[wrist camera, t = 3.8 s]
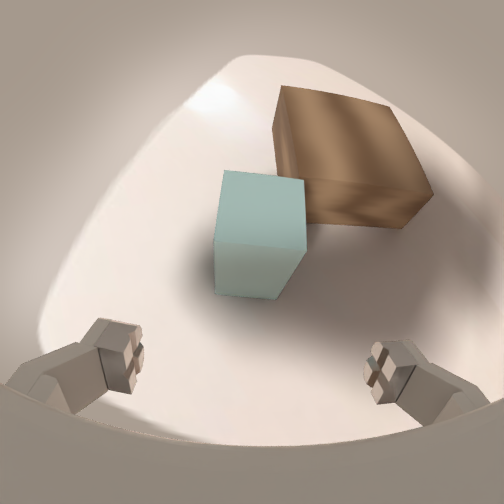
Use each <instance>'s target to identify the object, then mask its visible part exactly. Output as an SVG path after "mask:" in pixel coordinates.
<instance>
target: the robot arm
mask: <svg viewBox="0 0 504 504" xmlns="http://www.w3.org/2000/svg"><path fill="white" fill-rule="evenodd" d="M141 338H142V329H141V326H140V325H136V324H131V323H126V322H121V321H116V320H111V319H105V318H98V319H97V320H96V321H95V323H94V324H93V325H92V327H91V328H90V329H89V331H88V332H87V333H86V335H85V336H84V337H83V339H82V340H81V341H80V343H77V342H75V343H72V344H70V345H67V346H65V347H62V348H60V349H58V350H55V351H53V352H50V353H48V354H45V355H43V356H40V357H38V358H35V359H33V360H30V361H28V362H25V363H23V364H21V365H20V367H19V368H18V369H17V370H16V372H15V373H14V374H13V375H12V377H11V378H10V379H9V381H8V382H7V383H6V384H5V385H4V384H2V383H0V504H504V398H502V399H499V400H497V401H495V402H493V403H490V402H489V401H488V399H487V398H486V397H485V395H484V394H483V393H482V392H481V390H480V389H479V388H478V387H477V386H476V385H474V384H472V383H470V382H468V381H466V380H464V379H462V378H460V377H458V376H456V375H454V374H452V373H450V372H449V371H447V370H445V369H443V368H441V367H439V366H437V365H435V364H433V363H429V362H428V361H427V359H426V358H425V357H424V356H423V354H422V353H421V352H420V351H419V349H418V348H417V347H416V346H415V344H414V343H413V342H412V341H411V340H398V341H385V342H375V343H374V345H373V346H372V349H371V354H372V356H371V357H370V358H369V359H368V360H367V361H366V363H365V366H364V373H363V375H364V380H365V382H366V384H367V385H369V386H370V387H372V390H371V394H372V396H373V398H374V400H375V402H376V404H377V405H378V404H387V403H395V402H396V404H397V405H398V406H399V407H400V408H402V409H403V410H404V411H405V412H407V413H408V414H409V415H410V416H411V417H413V418H414V419H415V420H416V421H418V422H419V423H420V424H421V425H423V427H419V428H416V429H411V430H407V431H403V432H399V433H394V434H389V435H384V436H379V437H373V438H367V439H361V440H354V441H346V442H338V443H328V444H317V445H301V446H238V445H222V444H210V443H201V442H192V441H185V440H178V439H171V438H165V437H159V436H154V435H149V434H144V433H139V432H135V431H130V430H126V429H122V428H118V427H114V426H110V425H107V424H103V423H100V422H96V421H93V420H90V419H87V418H83V417H80V416H77V415H75V414H76V413H78V412H80V411H81V410H82V409H84V408H85V407H87V406H88V405H89V404H91V403H92V402H93V401H95V400H96V399H98V398H99V397H100V396H102V395H103V394H105V393H106V392H107V391H108V390H112V391H116V392H121V393H126V394H132V392H133V390H134V387H135V385H136V382H137V379H136V374H138V373H140V372H141V369H142V367H143V361H144V347H143V345H142V344H141V343H140V340H141Z"/></svg>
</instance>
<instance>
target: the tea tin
mask: <svg viewBox="0 0 504 504" xmlns="http://www.w3.org/2000/svg"><path fill="white" fill-rule="evenodd" d="M306 252H307V235H306V211H305V192H304V180H300V179H294V178H287V177H279V176H272V175H264V174H256V173H247V172H238V171H228V170H224V175H223V181H222V187H221V194H220V200H219V207H218V213H217V220H216V227H215V234H214V279H215V294H219V295H228V296H239V297H249V298H260V299H272V300H276V299H277V297H278V296H279V294H280V293H281V291H282V290H283V288H284V287H285V285H286V283H287V282H288V280H289V279H290V277H291V276H292V274H293V272H294V271H295V269H296V268H297V266H298V264H299V263H300V261H301V260H302V258H303V256H304V255H305V253H306Z"/></svg>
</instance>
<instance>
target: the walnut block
mask: <svg viewBox="0 0 504 504" xmlns="http://www.w3.org/2000/svg"><path fill="white" fill-rule="evenodd" d="M272 133H273V141H274V149H275V157H276V166H277V175H278V176H279V177H287V178H294V179H300V180H304V192H305V211H306V223H317V224H335V225H352V226H368V227H383V228H397V229H402V228H403V227H404V226H405V225H406V224H407V223H408V222H409V221H410V220H411V219H412V218H413V217H414V216H415V215H416V214H417V212H418V211H419V210H420V209H421V208H422V207H423V206H424V205H425V204H426V203H427V202H428V201H429V200H430V199H431V197H432V196H433V195H434V194H433V191H432V189H431V186H430V184H429V182H428V180H427V177H426V175H425V173H424V171H423V169H422V166H421V164H420V162H419V160H418V158H417V156H416V154H415V152H414V150H413V148H412V146H411V144H410V142H409V140H408V139H407V137H406V135H405V133H404V131H403V129H402V128H401V126H400V124H399V122H398V120H397V119H396V117H395V115H394V114H393V112H392V110H391V109H390V107H388V106H385V105H381V104H377V103H373V102H369V101H365V100H361V99H357V98H353V97H348V96H343V95H338V94H333V93H328V92H323V91H317V90H311V89H304V88H297V87H290V86H282V85H281V89H280V94H279V98H278V103H277V107H276V112H275V117H274V121H273V126H272Z"/></svg>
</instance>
